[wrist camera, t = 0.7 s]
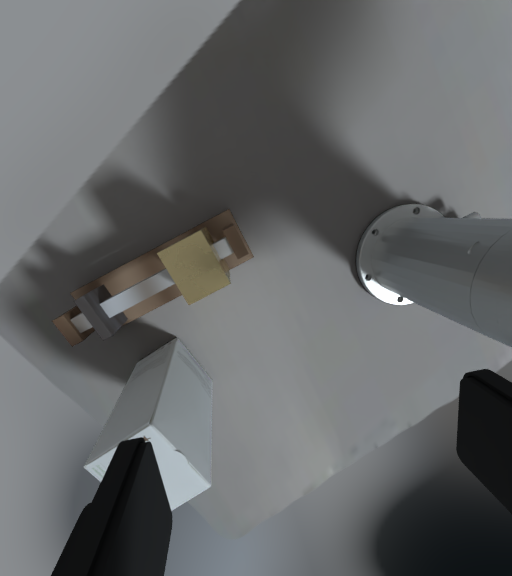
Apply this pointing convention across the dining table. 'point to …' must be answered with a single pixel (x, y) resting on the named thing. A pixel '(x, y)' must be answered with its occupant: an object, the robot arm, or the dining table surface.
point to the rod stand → (142, 285)
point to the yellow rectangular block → (195, 266)
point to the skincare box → (164, 421)
